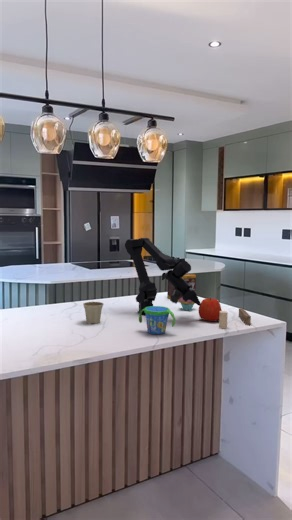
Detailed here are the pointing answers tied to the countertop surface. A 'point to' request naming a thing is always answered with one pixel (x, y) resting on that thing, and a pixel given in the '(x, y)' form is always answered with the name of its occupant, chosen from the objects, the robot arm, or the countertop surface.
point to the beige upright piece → (222, 319)
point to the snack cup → (156, 318)
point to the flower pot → (93, 311)
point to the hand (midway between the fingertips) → (199, 304)
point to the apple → (209, 309)
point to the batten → (245, 316)
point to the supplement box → (188, 278)
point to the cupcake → (186, 304)
